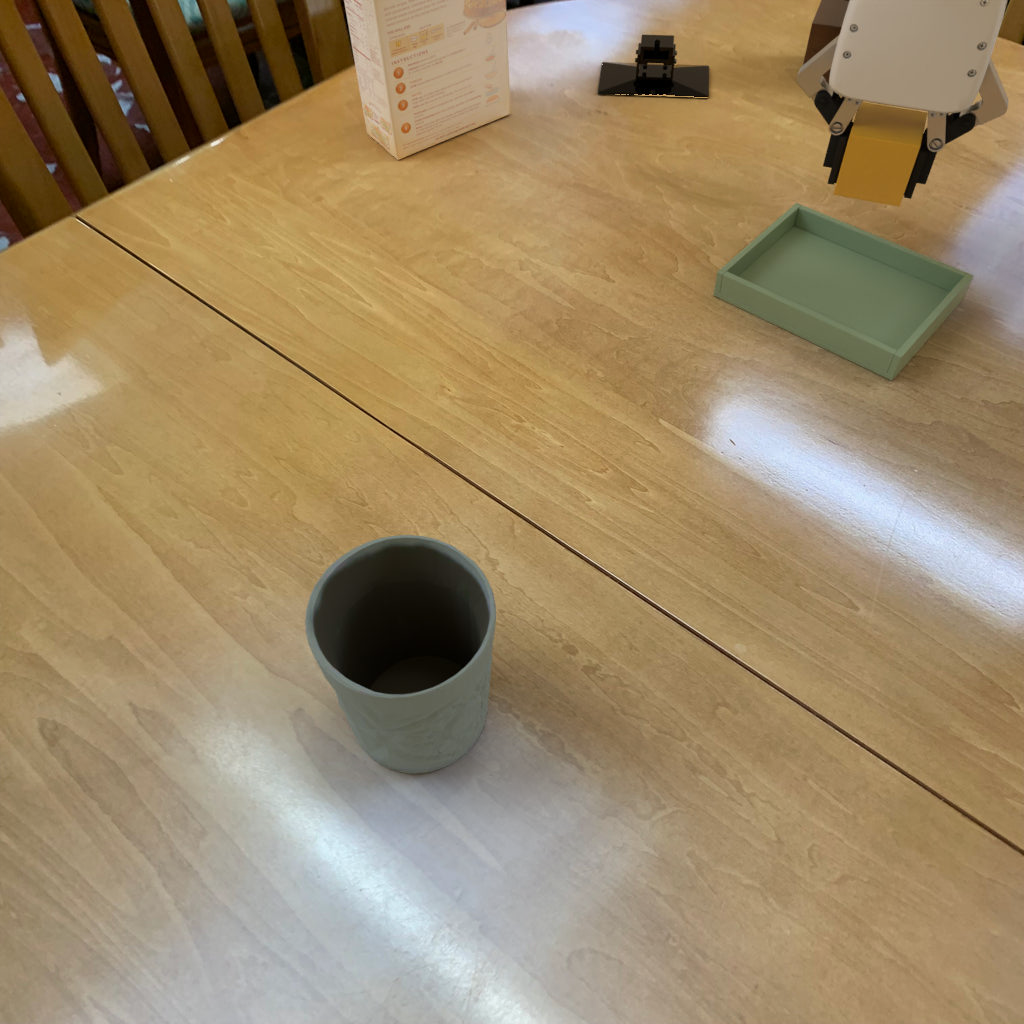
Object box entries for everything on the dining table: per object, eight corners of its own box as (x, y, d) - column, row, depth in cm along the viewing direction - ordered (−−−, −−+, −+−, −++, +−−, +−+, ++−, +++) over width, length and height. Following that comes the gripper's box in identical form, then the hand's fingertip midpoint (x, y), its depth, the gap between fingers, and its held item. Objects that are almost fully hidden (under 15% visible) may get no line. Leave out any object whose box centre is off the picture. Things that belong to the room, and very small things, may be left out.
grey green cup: (347, 646, 61) (310, 539, 52) (499, 634, 62) (490, 526, 52) (340, 795, 55) (297, 704, 46) (509, 781, 55) (501, 688, 46)
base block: (866, 63, 107) (882, 4, 102) (857, 91, 103) (874, 31, 98) (809, 55, 108) (822, -3, 103) (799, 82, 105) (811, 23, 100)
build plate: (597, 96, 104) (598, 54, 101) (602, 64, 109) (603, 23, 105) (708, 99, 103) (714, 57, 99) (708, 67, 107) (714, 25, 104)
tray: (963, 299, 81) (974, 275, 79) (891, 381, 75) (901, 357, 73) (790, 226, 88) (796, 202, 86) (712, 295, 82) (717, 271, 80)
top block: (907, 172, 73) (927, 112, 70) (899, 207, 71) (920, 146, 67) (843, 161, 75) (859, 101, 71) (833, 194, 72) (849, 134, 68)
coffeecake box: (477, 90, 106) (464, -104, 91) (513, 115, 102) (506, -83, 87) (363, 134, 101) (330, -64, 85) (397, 162, 97) (368, -39, 82)
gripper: (1098, -84, 58) (988, 176, 73) (824, -113, 62) (772, 139, 77) (1098, -36, 54) (981, 230, 68) (804, -70, 58) (752, 187, 73)
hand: (871, 179), depth 72 cm, fingers closed on top block, 5 cm apart
